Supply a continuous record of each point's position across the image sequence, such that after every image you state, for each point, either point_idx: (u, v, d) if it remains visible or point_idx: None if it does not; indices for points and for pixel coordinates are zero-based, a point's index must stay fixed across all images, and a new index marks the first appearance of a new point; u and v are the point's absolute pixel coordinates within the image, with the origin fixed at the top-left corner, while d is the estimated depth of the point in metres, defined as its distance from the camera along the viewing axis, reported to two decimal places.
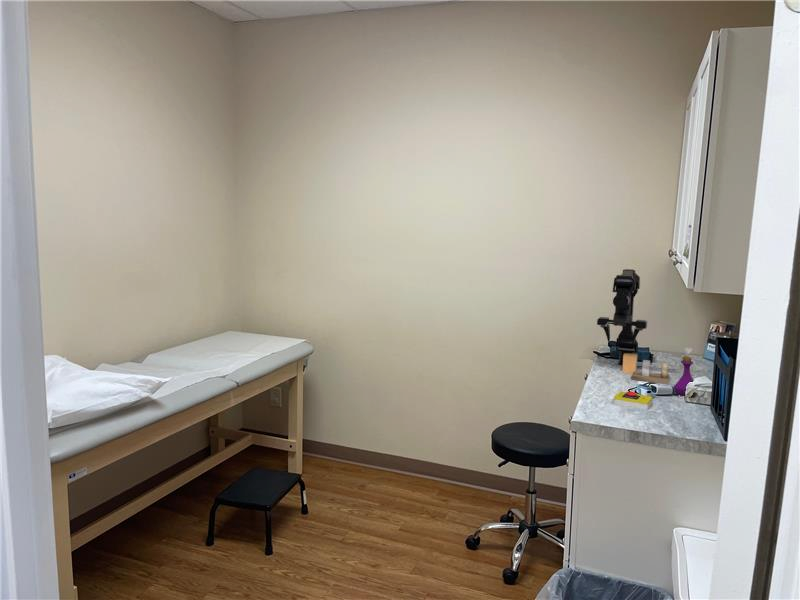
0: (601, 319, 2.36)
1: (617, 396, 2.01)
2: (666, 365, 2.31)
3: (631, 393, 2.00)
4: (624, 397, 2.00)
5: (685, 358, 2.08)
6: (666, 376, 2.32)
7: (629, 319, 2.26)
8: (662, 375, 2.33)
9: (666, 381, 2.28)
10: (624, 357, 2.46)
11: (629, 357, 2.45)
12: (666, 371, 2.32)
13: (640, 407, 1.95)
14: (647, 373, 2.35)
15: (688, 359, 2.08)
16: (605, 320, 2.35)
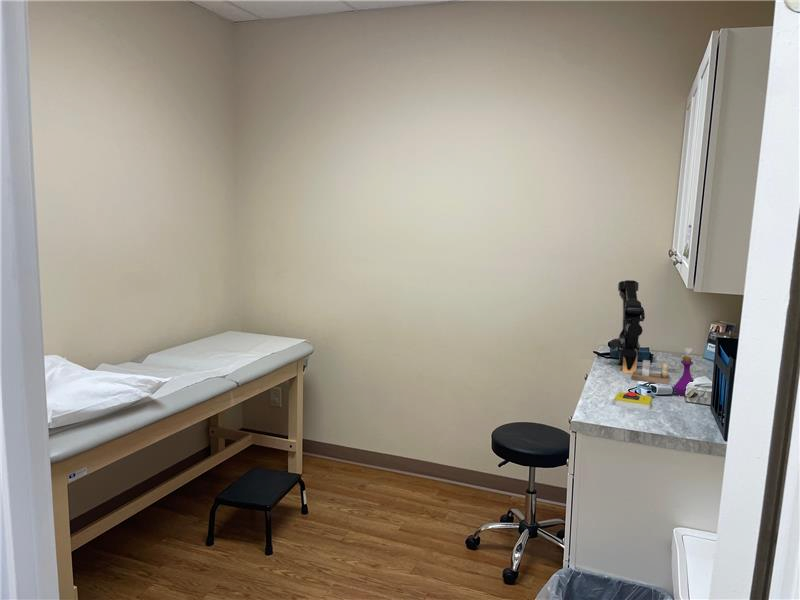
0: None
1: (618, 397, 1.99)
2: (666, 365, 2.31)
3: (631, 394, 2.00)
4: (625, 398, 1.99)
5: (685, 358, 2.08)
6: (666, 376, 2.32)
7: (611, 342, 2.46)
8: (662, 375, 2.33)
9: (666, 381, 2.28)
10: (624, 357, 2.46)
11: None
12: (666, 371, 2.32)
13: (642, 408, 1.95)
14: (647, 373, 2.35)
15: (688, 359, 2.08)
16: None
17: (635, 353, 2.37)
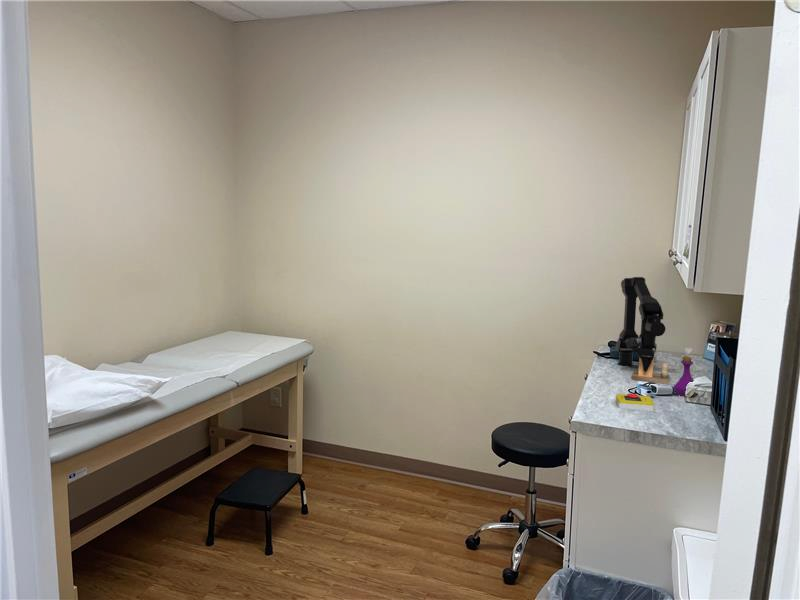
0: None
1: (621, 399, 1.97)
2: (666, 365, 2.31)
3: (633, 395, 1.98)
4: (628, 400, 1.96)
5: (685, 358, 2.08)
6: (666, 376, 2.32)
7: (627, 342, 2.35)
8: (662, 375, 2.33)
9: (666, 381, 2.28)
10: (640, 359, 2.34)
11: None
12: (666, 371, 2.32)
13: (647, 409, 1.93)
14: None
15: (688, 359, 2.08)
16: None
17: (652, 353, 2.26)
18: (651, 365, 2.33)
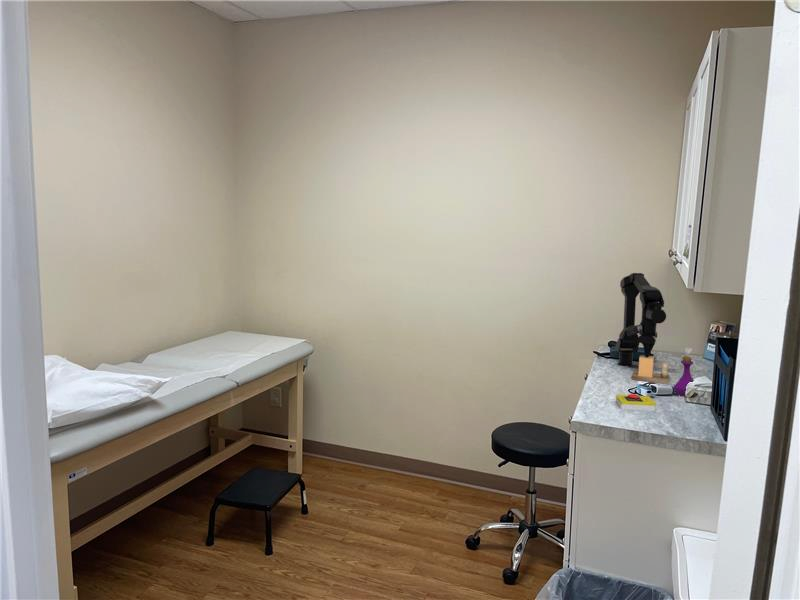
0: None
1: (623, 400, 1.96)
2: (666, 365, 2.31)
3: (634, 396, 1.97)
4: (630, 401, 1.95)
5: (685, 358, 2.08)
6: (666, 376, 2.32)
7: (628, 329, 2.34)
8: (662, 375, 2.33)
9: (666, 381, 2.28)
10: (640, 359, 2.34)
11: (645, 359, 2.33)
12: (666, 371, 2.32)
13: (649, 409, 1.93)
14: None
15: (688, 359, 2.08)
16: None
17: (653, 340, 2.25)
18: (651, 365, 2.33)
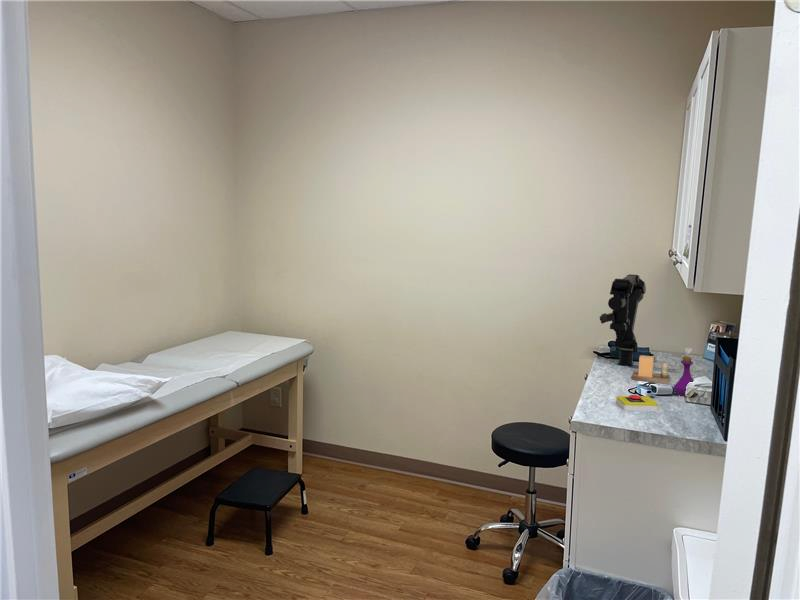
0: None
1: (626, 402, 1.94)
2: (666, 365, 2.31)
3: (635, 396, 1.96)
4: (633, 402, 1.94)
5: (685, 358, 2.08)
6: (666, 376, 2.32)
7: (601, 317, 2.48)
8: (662, 375, 2.33)
9: (666, 381, 2.28)
10: (640, 359, 2.34)
11: (645, 359, 2.33)
12: (666, 371, 2.32)
13: (652, 409, 1.93)
14: None
15: (688, 359, 2.08)
16: None
17: (624, 327, 2.39)
18: (651, 365, 2.33)
